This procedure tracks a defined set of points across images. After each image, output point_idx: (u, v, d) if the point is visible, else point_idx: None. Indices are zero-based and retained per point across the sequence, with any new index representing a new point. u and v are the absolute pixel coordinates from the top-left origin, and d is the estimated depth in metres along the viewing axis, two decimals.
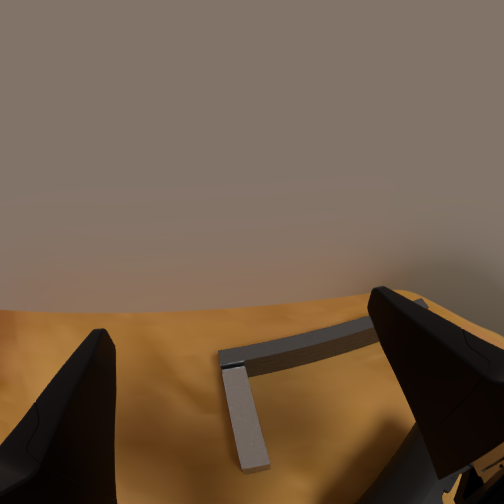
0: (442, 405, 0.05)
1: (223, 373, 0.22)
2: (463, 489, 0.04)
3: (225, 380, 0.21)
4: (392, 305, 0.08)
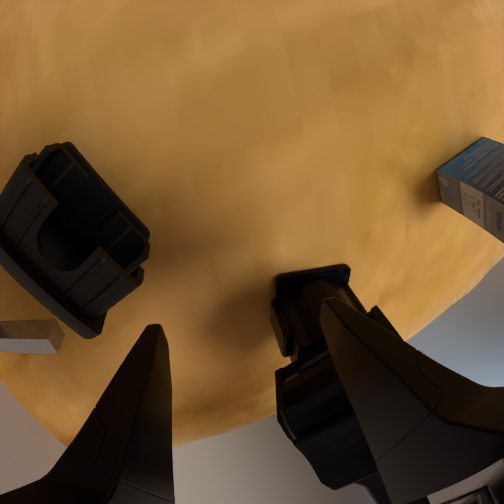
0: (390, 432, 0.05)
1: (1, 350, 0.18)
2: None
3: (5, 350, 0.18)
4: (339, 319, 0.07)
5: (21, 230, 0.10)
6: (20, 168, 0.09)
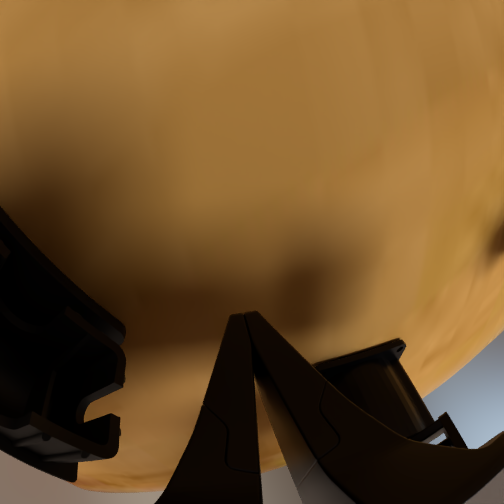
0: (297, 465, 0.05)
1: None
2: None
3: None
4: (250, 337, 0.07)
5: None
6: None
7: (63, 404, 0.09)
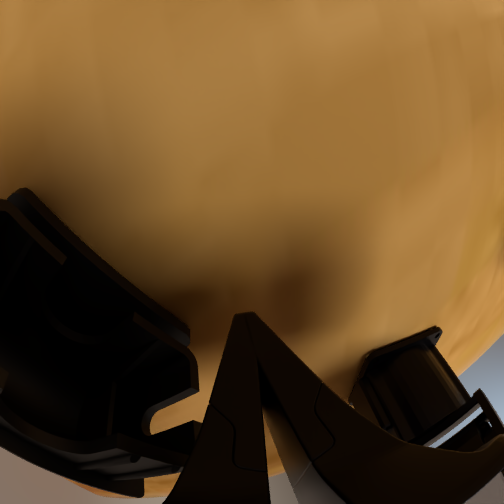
0: (293, 466, 0.05)
1: None
2: None
3: None
4: (246, 337, 0.07)
5: None
6: None
7: (121, 416, 0.10)
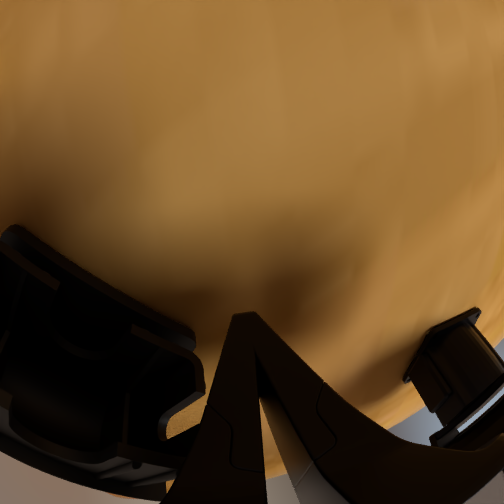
0: (294, 466, 0.05)
1: None
2: None
3: None
4: (248, 337, 0.07)
5: None
6: None
7: (140, 424, 0.10)
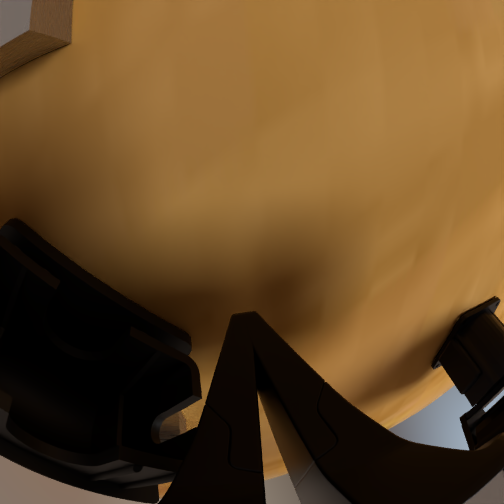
0: (295, 466, 0.05)
1: None
2: None
3: None
4: (248, 337, 0.07)
5: None
6: None
7: (132, 425, 0.10)
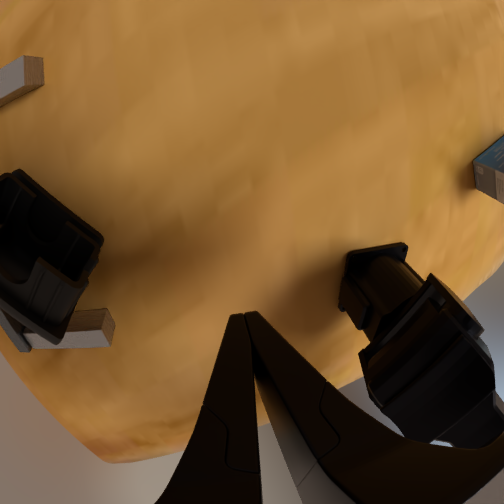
0: (297, 465, 0.05)
1: (35, 347, 0.18)
2: None
3: (40, 347, 0.18)
4: (250, 337, 0.07)
5: None
6: None
7: None
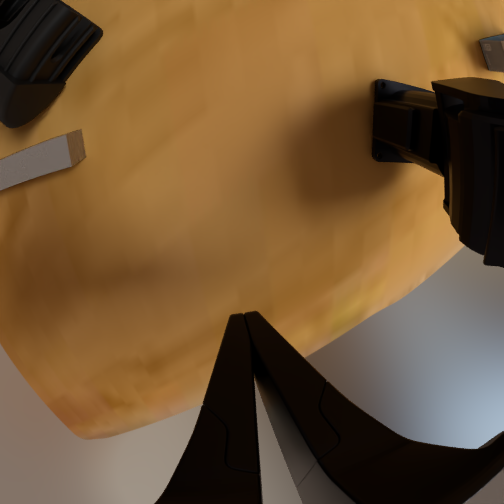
0: (297, 465, 0.05)
1: None
2: None
3: None
4: (250, 337, 0.07)
5: None
6: None
7: None
